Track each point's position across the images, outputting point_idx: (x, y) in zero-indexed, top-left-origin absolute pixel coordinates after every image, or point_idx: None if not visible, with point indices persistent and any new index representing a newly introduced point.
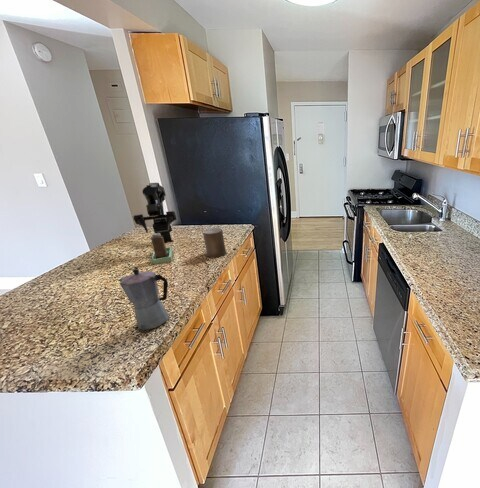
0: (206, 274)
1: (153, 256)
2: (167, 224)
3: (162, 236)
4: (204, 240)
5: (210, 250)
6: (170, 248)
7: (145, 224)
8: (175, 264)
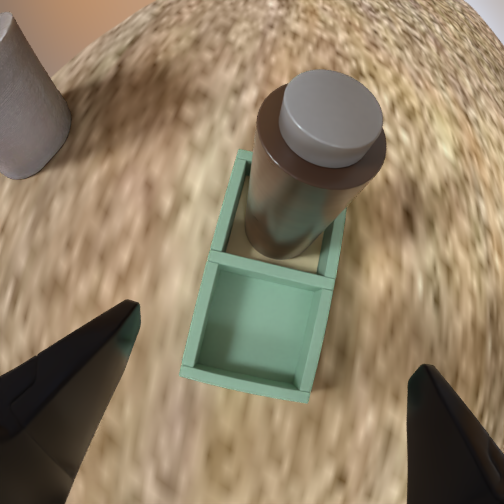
0: (172, 4)
1: (334, 234)
2: (70, 352)
3: (264, 100)
4: (25, 78)
5: (53, 83)
6: (194, 331)
7: (459, 497)
8: (230, 125)
